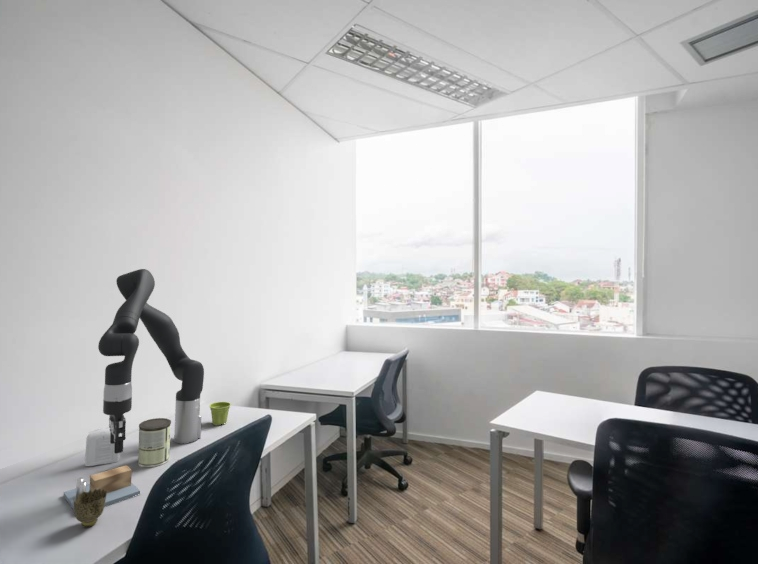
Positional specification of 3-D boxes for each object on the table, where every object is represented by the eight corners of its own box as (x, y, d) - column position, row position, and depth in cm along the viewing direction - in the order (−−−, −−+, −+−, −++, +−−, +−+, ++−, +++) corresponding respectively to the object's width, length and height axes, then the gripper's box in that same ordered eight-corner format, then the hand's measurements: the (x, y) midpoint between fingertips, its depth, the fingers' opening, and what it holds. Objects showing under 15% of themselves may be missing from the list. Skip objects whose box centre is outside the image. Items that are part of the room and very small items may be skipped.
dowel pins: (81, 494, 123) (82, 477, 123) (86, 500, 120) (87, 482, 120) (75, 496, 122) (75, 479, 122) (79, 502, 119) (80, 484, 119)
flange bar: (94, 497, 122) (94, 480, 122) (89, 491, 124) (90, 475, 124) (131, 485, 129) (131, 469, 129) (125, 480, 132) (126, 465, 132)
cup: (83, 516, 114) (84, 488, 114) (111, 516, 115) (112, 488, 115) (65, 533, 107) (66, 502, 107) (95, 532, 107) (96, 502, 107)
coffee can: (134, 460, 149) (135, 421, 149) (164, 452, 156) (165, 416, 156) (142, 470, 142) (143, 430, 141) (173, 462, 149) (175, 423, 149)
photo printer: (119, 457, 150) (120, 424, 150) (119, 462, 147) (121, 428, 147) (85, 463, 145) (86, 428, 145) (84, 468, 141) (86, 433, 141)
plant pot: (203, 425, 185) (204, 406, 185) (217, 418, 194) (218, 400, 194) (221, 428, 183) (222, 409, 183) (234, 421, 192) (235, 403, 192)
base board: (122, 477, 136) (122, 474, 136) (139, 494, 126) (140, 490, 126) (63, 495, 124) (63, 492, 124) (77, 516, 114) (78, 511, 114)
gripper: (100, 392, 131) (99, 442, 131) (106, 405, 120) (105, 459, 120) (127, 389, 135) (126, 437, 136) (135, 400, 125) (134, 452, 125)
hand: (116, 447), depth 128 cm, fingers open, 8 cm apart
